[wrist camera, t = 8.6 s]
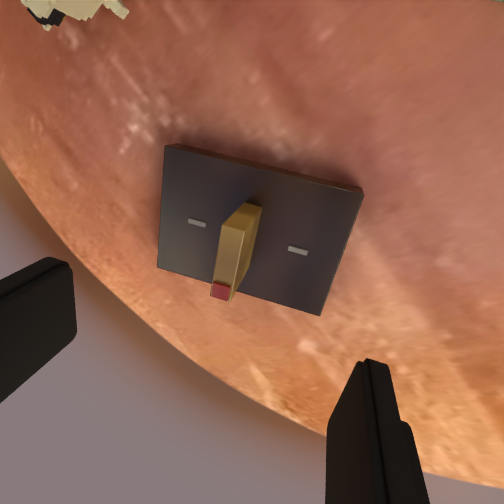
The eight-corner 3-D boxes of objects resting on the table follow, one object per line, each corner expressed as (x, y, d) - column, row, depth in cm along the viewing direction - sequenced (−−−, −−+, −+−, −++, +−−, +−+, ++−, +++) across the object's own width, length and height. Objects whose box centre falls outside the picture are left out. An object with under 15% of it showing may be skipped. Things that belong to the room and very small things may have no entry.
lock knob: (243, 201, 22) (220, 225, 17) (262, 206, 22) (244, 232, 17) (231, 262, 24) (207, 298, 19) (249, 267, 24) (229, 304, 19)
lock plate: (361, 187, 22) (365, 195, 20) (320, 302, 26) (320, 317, 24) (177, 142, 23) (163, 145, 21) (167, 257, 28) (155, 268, 26)
